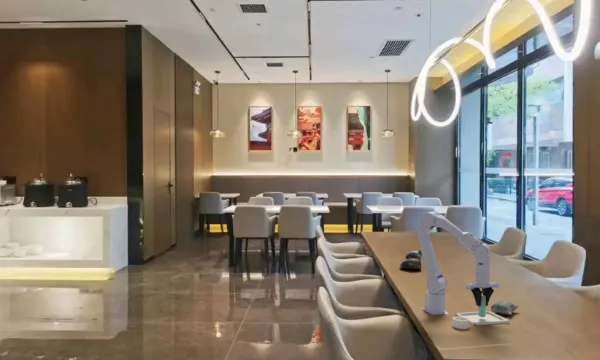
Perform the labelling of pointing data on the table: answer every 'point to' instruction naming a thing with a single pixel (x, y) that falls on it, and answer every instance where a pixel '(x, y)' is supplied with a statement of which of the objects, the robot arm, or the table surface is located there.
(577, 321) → the table surface
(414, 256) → the grey stacked sacks
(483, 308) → the dowel
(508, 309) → the packaged food
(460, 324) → the bowl
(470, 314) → the tray
